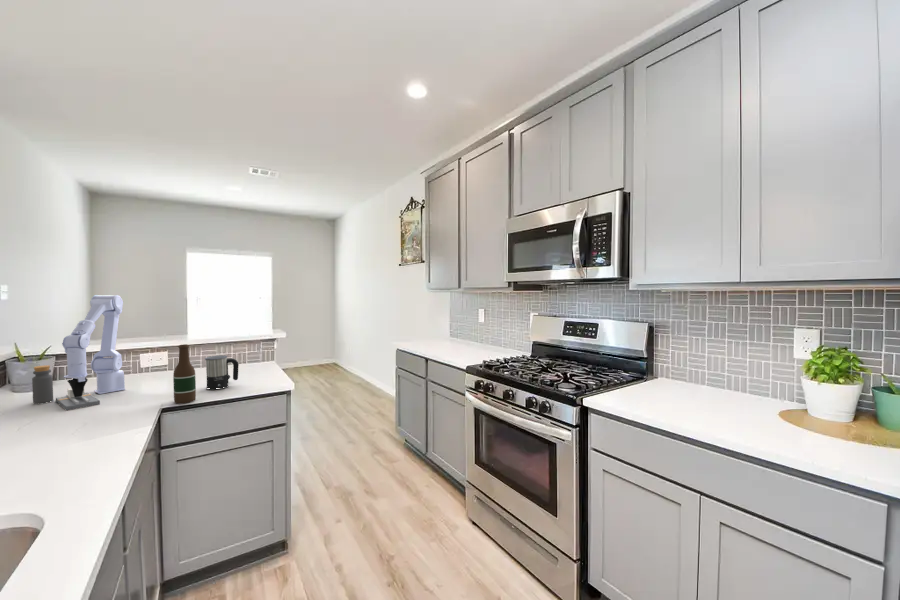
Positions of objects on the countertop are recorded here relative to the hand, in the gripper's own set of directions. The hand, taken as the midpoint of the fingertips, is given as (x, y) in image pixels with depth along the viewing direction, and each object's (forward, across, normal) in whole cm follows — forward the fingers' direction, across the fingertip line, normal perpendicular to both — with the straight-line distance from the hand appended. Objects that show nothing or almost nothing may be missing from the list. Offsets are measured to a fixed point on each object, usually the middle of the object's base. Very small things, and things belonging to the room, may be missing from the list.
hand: (78, 396), depth 162 cm
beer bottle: (+3, +32, +27) cm, 42 cm away
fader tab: (+1, -3, 0) cm, 4 cm away
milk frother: (+3, +16, +48) cm, 50 cm away
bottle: (+3, -14, -8) cm, 16 cm away
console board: (+3, -1, 0) cm, 3 cm away
